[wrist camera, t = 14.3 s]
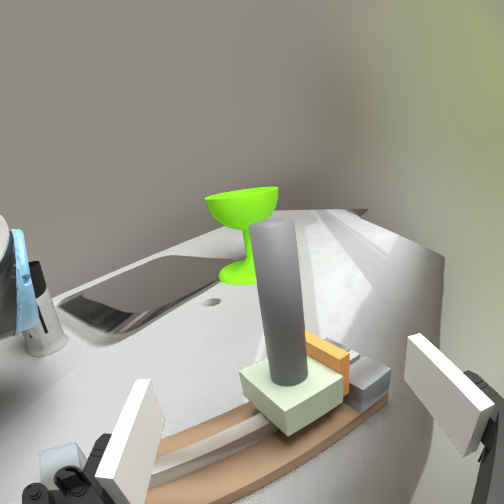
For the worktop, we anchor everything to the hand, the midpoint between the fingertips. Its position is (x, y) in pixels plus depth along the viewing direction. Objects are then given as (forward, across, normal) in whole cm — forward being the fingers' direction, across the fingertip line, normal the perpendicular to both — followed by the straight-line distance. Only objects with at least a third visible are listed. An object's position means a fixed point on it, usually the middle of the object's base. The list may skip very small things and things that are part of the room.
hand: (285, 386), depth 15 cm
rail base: (+7, -6, -13) cm, 16 cm away
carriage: (+10, +1, -10) cm, 14 cm away
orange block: (+13, +6, -9) cm, 17 cm away
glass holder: (+30, -38, -12) cm, 50 cm away
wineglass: (+58, 0, -11) cm, 59 cm away
